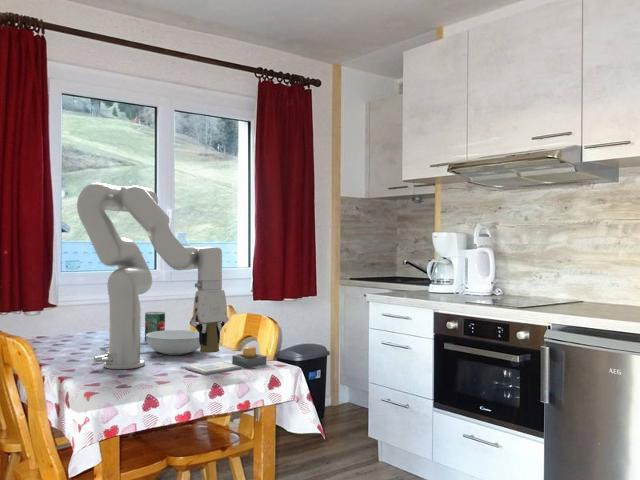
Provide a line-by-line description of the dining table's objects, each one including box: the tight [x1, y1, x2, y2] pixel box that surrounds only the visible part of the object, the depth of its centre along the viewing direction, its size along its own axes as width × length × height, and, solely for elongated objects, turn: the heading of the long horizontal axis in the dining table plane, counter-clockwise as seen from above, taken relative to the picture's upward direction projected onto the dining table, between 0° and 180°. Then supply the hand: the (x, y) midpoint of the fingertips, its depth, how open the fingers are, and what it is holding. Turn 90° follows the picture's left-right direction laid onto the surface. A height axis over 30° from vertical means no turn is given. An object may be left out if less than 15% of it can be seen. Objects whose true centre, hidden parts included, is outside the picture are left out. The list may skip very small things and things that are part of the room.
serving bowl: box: [146, 329, 201, 356], centre depth 213 cm, size 21×21×7 cm
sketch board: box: [185, 361, 243, 376], centre depth 187 cm, size 14×11×1 cm
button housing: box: [231, 353, 267, 369], centre depth 195 cm, size 8×8×3 cm
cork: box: [199, 322, 220, 354], centre depth 186 cm, size 6×6×11 cm
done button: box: [242, 346, 257, 358], centre depth 195 cm, size 4×4×3 cm
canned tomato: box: [144, 311, 166, 342], centre depth 240 cm, size 8×8×11 cm
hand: (209, 343), depth 186 cm, fingers closed on cork, 4 cm apart
